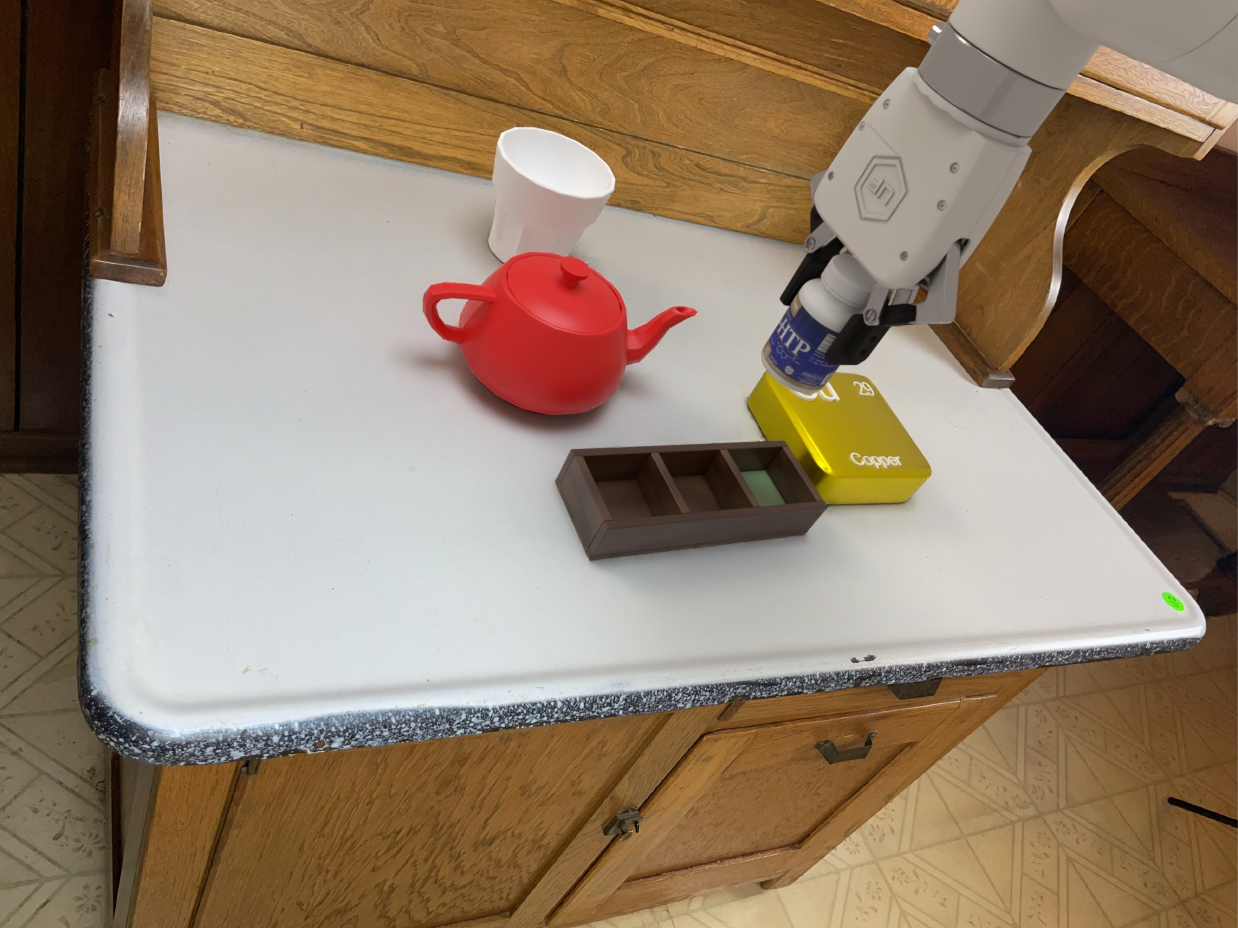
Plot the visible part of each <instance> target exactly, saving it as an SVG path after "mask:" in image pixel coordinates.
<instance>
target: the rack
mask: <svg viewBox="0 0 1238 928" xmlns="http://www.w3.org/2000/svg"><path fill="white" fill-rule="evenodd" d="M554 481H555V482H554V483H555V484H556V487H557V489H558V492H559V493H560V496H561V498H562V500H563V503H564V505H565V508H566V510H567V513H568V514H569V516H570V519H571V521H572V523H573V526H574V528H575V531H576V533H577V535H578V537H579V540H580V542H581V544H582V547H583V548H584V549H583V550H584V551H585V554H586V556H587V558H588V560H589V561H594V560H603V559H610V558H619V557H628V556H636V555H643V554H653V553H661V552H670V551H678V550H688V549H695V548H703V547H712V546H720V545H727V544H737V543H743V542H752V541H761V540H770V539H778V538H786V537H793V536H794V537H796V536H802V535H806V534H808V531H809V530H810V529H811V528H812V527H814V524H815V523H816V522H817V521H818V520H819V519H820V518H821V516H822V515H823V514H824V513H825V512H826V510H827V509H828V508H829V506H828V504H826V503H825V502H824V501H823V499H822V497H821V496H820V494H819V493H818V491H817V489H816V488H815V486H814V485H813V483H812V482H811V480H810V479H809V477H808V476H807V474H806V472H805V471H804V469H803V468H802V466H801V465H800V463H799V462H798V460H797V459H796V457H795V456H794V454H793V452H792V451H791V449H790V448H789V447H788V445H787V443H786V442H785V441H784V440H779V441H767V440H759V441H734V442H733V441H731V442H709V443H684V444H664V445H662V444H661V445H639V446H638V445H637V446H636V445H635V446H614V447H592V448H590V447H589V448H571V449H570V450H569V452H568V454H567V456H566V458H565V460H564V462H563V464H562V466H561V468H560V470H559V473H558V474H557V477H556V478H555V480H554Z"/></svg>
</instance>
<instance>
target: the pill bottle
mask: <svg viewBox="0 0 1238 928" xmlns="http://www.w3.org/2000/svg"><path fill="white" fill-rule="evenodd" d="M875 281H876V280H875V279H874V278H873V277H872V276H871V275H870V274H869V273H868V272H867V271H866V269H865V268H864V267H863V266H862V265H861V264H860V263H859V261H858V260H857V259H856V258H855V257H854V256H850V255H845V254H842V255H836V256H834V257H833V258H832V259H831V261H830V262H829V263H828V265H827V266H826V268H825V270H824V272H823V273H822V274H821V278H816V279H812V280H810V281H808V282H806V283H805V284H804V285H803V286H802V288H801V289H800V291H799V292H798V294H797V295H796V297H795V298H794V300H793V302H792V303H791V305H790V306H788V308H787V309H786V311H785V312H784V313H783V316H782V317H781V319H780V320H779V322H778V323H777V325H776V326H775V328H774V329H773V331H772V332H771V334H770V336H769V338H768V339H767V341H766V342H765V343H764V345H763V347H762V349H761V351H760V358H761V359H760V360H761V362H762V366H763V367H764V369H765V371H766V370H767V372H768V373H769V374H770V375H771V376H772V377H773V378H774V379H775V380H776V381H778V382H779V383H780V384H782V385H783V386H785V387H787V388H789V389H791V390H793V391H796V392H799V393H805V394H813V393H817V392H819V391H820V390H822V389H823V388H824V386H825V385H826V384H827V383H828V381H829V380H830V378H831V377H832V376H833V374H834V373H835V372H837V370H838V369H839V368H840V366H841V365H829V364H828V363H827V362H826V360H825V359H824V358H825V353H826V352H827V350H828V349H829V347H830V346H831V345H832V343H833V342H834V340H835V339H836V337H837V336H838V335H839V333H840V332H841V330H842V329H843V328H844V326H845V325H846V323H847V322H848V320H849V319H850V318H851V316H852V315H854V314H864V311H865V308H866V305H867V303H868V300H869V297H870V295H871V292H872V289H873V287H874V284H875Z"/></svg>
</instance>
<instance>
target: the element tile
mask: <svg viewBox="0 0 1238 928" xmlns="http://www.w3.org/2000/svg"><path fill="white" fill-rule="evenodd" d="M747 405H748V409H749V411H750V412H751V414H752V416H753V418H754V419H755V421H756V422H757V425H758V426H759V428H760V430H761V432H762V433H763V436H764V437H765V439H766V441H779V440H784V441H785V442H786V443H787V445H788V447H789V448H790V449H791V451H792V452H793V454H794V456H795V457H796V459H797V460H798V462H799V463H800V465H801V466H802V468H803V469H804V471H805V472H806V474H807V476H808V477H809V479H810V480H811V482H812V483H813V485H814V486H815V488H816V489H817V491H818V493H819V494H820V496H821V497H822V499H823V501H824V502H825V503H826V505H856V504H857V505H859V504H900V503H905V502H907V501H908V500H910V499H911V498H912V497H913V496H914V495H915V494H916V493H917V491H919V490H920V488H921V487H922V486H923V485H925V483H926V482H927V481H928V480H929V479H930V478H931V477H932V474H933V473H932V472H933V470H932V467H931V465H930V463H929V461H928V460H927V458H926V457H925V455H924V454H923V452H922V451H921V450H920V448H919V447H918V445H917V444H916V442H915V441H914V440H913V438H912V437H911V435H910V434H909V432H908V431H907V430H906V427H905V426H904V424H902V422H901V421H900V419H899V418H898V416H897V415H896V414H895V412H894V411H893V409H892V408H891V406H890V404H889V403H888V402H887V401H886V399H885V398H884V396H883V395H882V393H881V392H880V391H879V389H878V388H877V386H876V385H875V383H874V382H872V380H870V378H869V377H867V376H865V375H862V374H858V373H854V372H853V373H852V372H839V371H836V372H835V373H834V374H833V376H832V377H831V378H830V380H829V381H828V383H827V384H826V385H825V386H824V388H823V389H822V390H820V391H819V392H817V393H813V394H805V393H799V392H796V391H793V390H791V389H789V388H787V387H785V386H783V385H782V384H780V383H779V382H778V381H776V380H775V379H774V378H773V377H772V376H771V375H770V374H769V373H768V372H767V370H766V369H765V371H764V373H763V374H762V376H761V378H760V379H759V380H758V381H757V384H755V386H754V388H753V390H752V391H751V393H750V394H749V396H748V397H747Z"/></svg>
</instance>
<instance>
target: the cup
mask: <svg viewBox="0 0 1238 928" xmlns="http://www.w3.org/2000/svg"><path fill="white" fill-rule="evenodd" d="M493 162H494V164H493V171H492V177H491V182H492V186H493V188H494V193H495V205H494V213H493V221H492V226H491V229H490V232H489V235H488V239H487V242H488V247H489V249H490V251H491V252H492V254H494V255H495V257H496V258H497V259H498V260H499V261H500V262H501V263H503V264H504V263H505V262H506V261H508V260H509V259H510V258H511V257H513V256H517V255H520V254H523V253H527V252H545V253H554V254H557V255H561V256H564V257H569V256H570V254H571V252H572V251H573V250H574V247H575V246H576V245H577V243H578V242H579V240H580V239H581V237H582V236H583V234H584V232H585V231H586V230H587V229H588V228H589V227H590V226H592V225H593V224H594V223H596V221H597V220H598V218H599V216H600V215H601V213H602V211H603V210H604V208H605V207H606V205H607V204H608V201H609V200H610V198H611V196H612V195H613V193H614V191H615V186H616V177H615V175H614V173H613V171H612V169H611V167H610V165H609V164H608V163H606V161H604V160H603V159H602V158H601V157H600V156H599V155H598V154H597V153H596V152H594V151H593V150H592V149H590V148H588V147H586V146H585V145H583V144H582V143H581V142H578V141H577V140H575V139H573V138H570V137H567V136H566V135H563V134H561V133H558V132H555V131H552V130H549V129H548V130H547V129H543V128H539V127H534V126H515V127H511V128H510V129H507V130H505V131H502V132H501V133H500V136H499V138H498V139H497V143H496V149H495V155H494V161H493Z"/></svg>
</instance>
